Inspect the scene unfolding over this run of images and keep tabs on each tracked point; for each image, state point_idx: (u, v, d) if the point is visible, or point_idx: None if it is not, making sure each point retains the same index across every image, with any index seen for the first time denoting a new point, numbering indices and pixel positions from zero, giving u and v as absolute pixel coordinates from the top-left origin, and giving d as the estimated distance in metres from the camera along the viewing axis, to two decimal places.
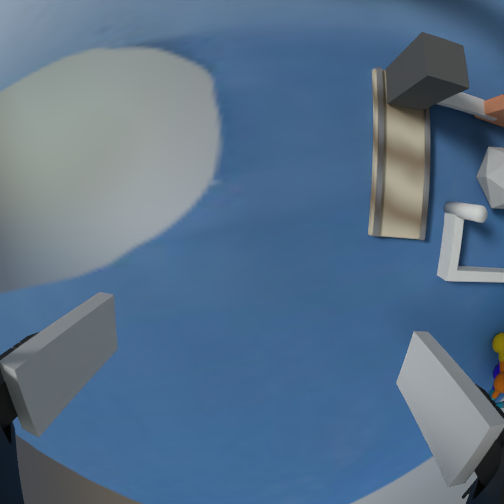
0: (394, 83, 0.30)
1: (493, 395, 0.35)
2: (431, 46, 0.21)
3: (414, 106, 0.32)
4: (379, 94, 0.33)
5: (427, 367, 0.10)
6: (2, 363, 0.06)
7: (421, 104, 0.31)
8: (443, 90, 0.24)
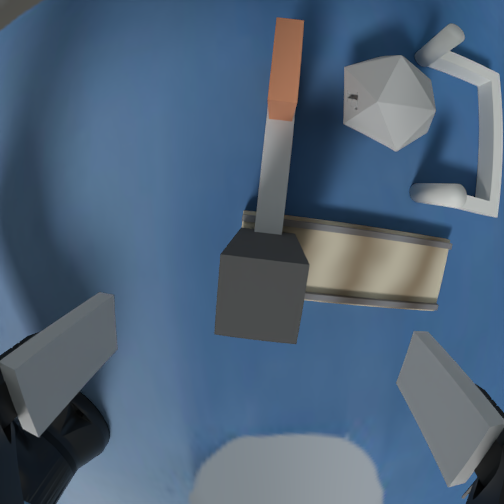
0: None
1: None
2: (239, 325, 0.18)
3: None
4: None
5: (427, 367, 0.10)
6: (2, 363, 0.06)
7: None
8: None
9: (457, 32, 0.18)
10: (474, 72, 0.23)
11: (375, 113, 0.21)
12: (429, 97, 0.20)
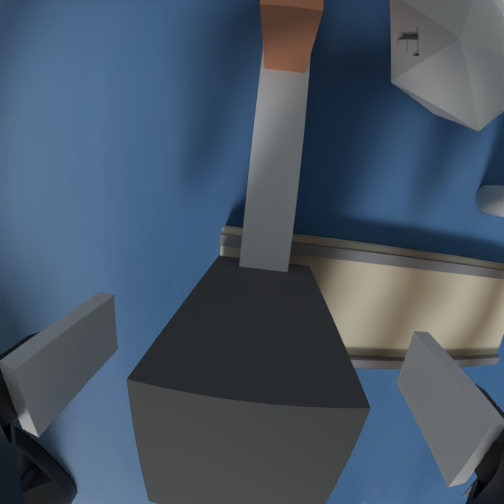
0: None
1: None
2: (196, 499, 0.06)
3: None
4: None
5: (427, 367, 0.10)
6: (2, 363, 0.06)
7: None
8: None
9: None
10: None
11: (453, 60, 0.09)
12: None
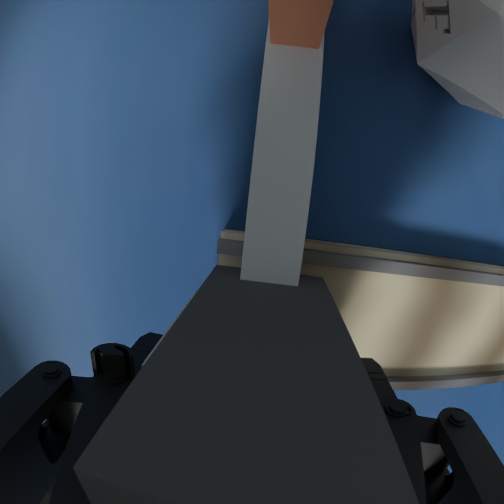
0: None
1: None
2: None
3: None
4: None
5: None
6: None
7: None
8: None
9: None
10: None
11: (491, 38, 0.07)
12: None
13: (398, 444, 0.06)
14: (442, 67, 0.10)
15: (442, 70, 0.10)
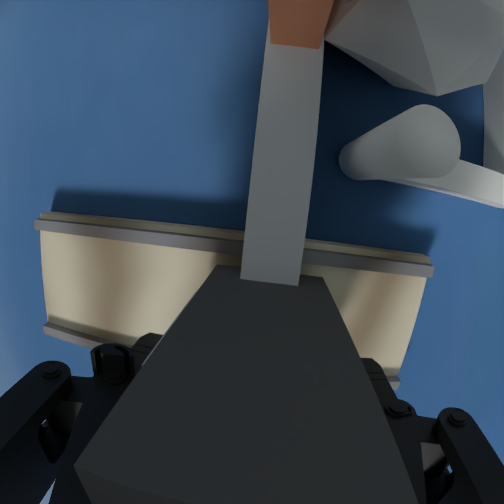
0: None
1: None
2: None
3: None
4: (91, 346, 0.16)
5: None
6: None
7: None
8: None
9: None
10: None
11: None
12: None
13: (398, 444, 0.06)
14: (347, 39, 0.10)
15: (348, 43, 0.10)
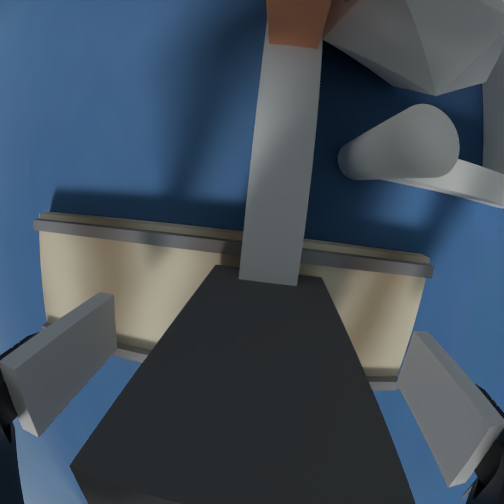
0: None
1: None
2: None
3: None
4: None
5: (426, 367, 0.10)
6: (2, 363, 0.06)
7: None
8: None
9: None
10: None
11: None
12: None
13: None
14: (346, 39, 0.10)
15: (347, 43, 0.10)
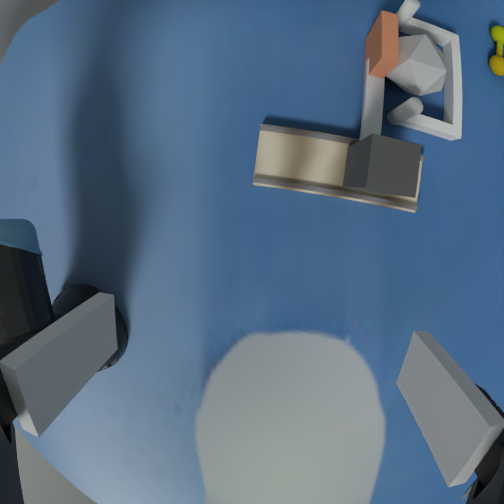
0: (371, 191, 0.35)
1: None
2: (382, 180, 0.26)
3: None
4: (284, 185, 0.38)
5: (427, 367, 0.10)
6: (2, 363, 0.06)
7: None
8: None
9: (414, 2, 0.25)
10: (436, 33, 0.30)
11: (407, 67, 0.29)
12: (443, 62, 0.27)
13: None
14: (392, 76, 0.32)
15: (392, 77, 0.32)
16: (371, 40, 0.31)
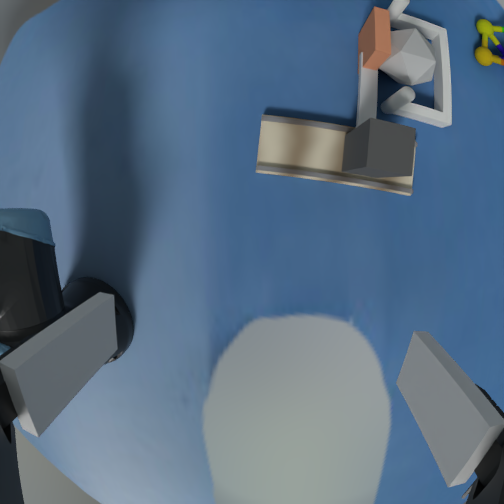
0: (369, 174, 0.37)
1: None
2: (381, 160, 0.28)
3: None
4: (285, 172, 0.40)
5: (427, 366, 0.10)
6: (2, 363, 0.06)
7: None
8: None
9: None
10: (425, 28, 0.32)
11: (399, 58, 0.31)
12: (432, 54, 0.29)
13: None
14: (385, 68, 0.34)
15: (385, 69, 0.34)
16: (364, 35, 0.33)
